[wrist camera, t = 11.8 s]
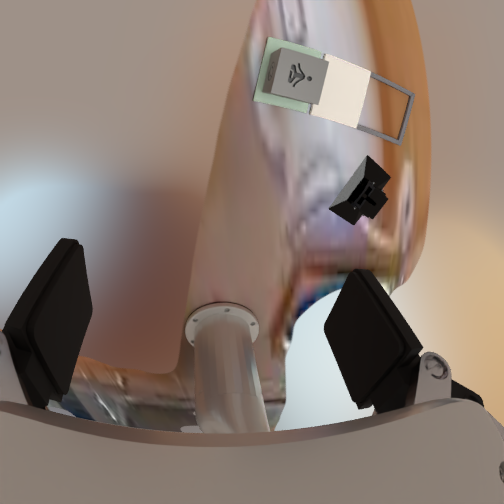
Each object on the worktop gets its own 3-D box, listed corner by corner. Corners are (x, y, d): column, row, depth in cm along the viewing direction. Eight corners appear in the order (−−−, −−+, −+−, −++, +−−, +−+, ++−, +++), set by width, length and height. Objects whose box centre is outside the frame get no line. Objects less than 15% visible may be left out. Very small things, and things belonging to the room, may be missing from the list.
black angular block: (367, 143, 34) (385, 151, 30) (398, 172, 37) (415, 183, 33) (316, 213, 39) (327, 228, 35) (350, 235, 42) (363, 251, 38)
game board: (399, 145, 34) (401, 145, 34) (252, 100, 29) (253, 100, 29) (413, 93, 30) (415, 94, 29) (267, 37, 25) (268, 36, 25)
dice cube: (271, 53, 26) (281, 47, 22) (312, 64, 27) (329, 61, 23) (261, 92, 28) (270, 92, 24) (303, 102, 29) (318, 105, 25)
